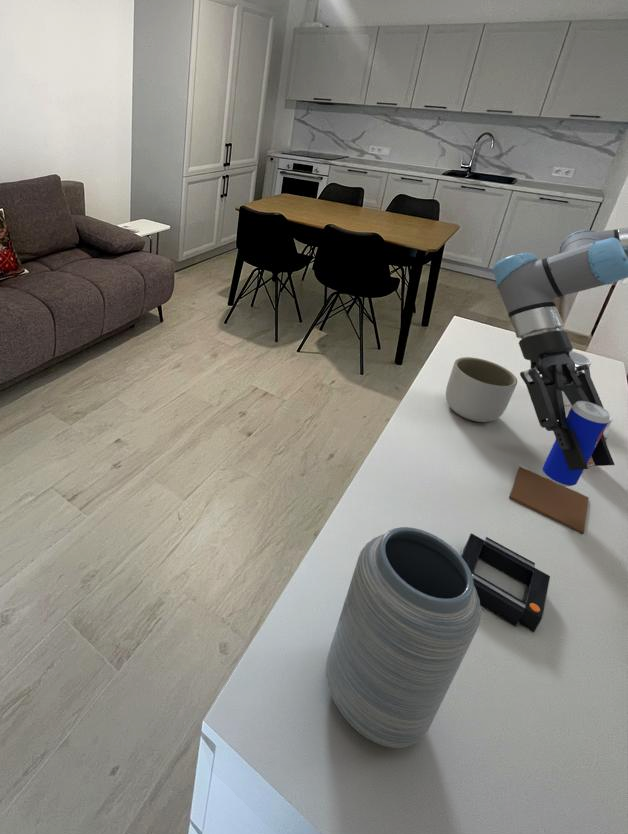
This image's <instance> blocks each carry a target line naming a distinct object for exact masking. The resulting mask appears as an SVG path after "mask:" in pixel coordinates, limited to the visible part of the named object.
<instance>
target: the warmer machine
mask: <svg viewBox="0 0 628 834" xmlns="http://www.w3.org/2000/svg"><path fill="white" fill-rule="evenodd" d="M460 556H461V557H462V558H463V559H464V561H465V562H466V564H467V565H468V567H469V569H470V571H471V574H472V577H473V583H474V586H475V588H476V591H477V594H478V597H479V600H480V607H483V608H484V609H486V610H487V611H489V612H490V613H492V614H494V615H496V616H497V617H499V618H500V619H502V620H503V621H505V622H507V623H509V624H510V625H512V626H514V627H517V626H518V624H520V625H522V626H523V627H524V628H526V629H528V630H530V631H531V632H533V633H535V631H536V630H537V628H538V626H539V624H540V622H541V621H542V619H543V616H544V609H545V605H546V601H547V600H546V599H547V596H548V595H547V594H548V588H549V583H550V579H551V575H549V574H548V573H545V572H543V571H542V570H540V569H538V568H536V562H534V561H532V560H530V559H528V558H526V557H524V556H523V555H521V554H519V553H517V552H515V551H514V550H512V549H510V548H508V547H506V546H504V545H502V544H501V543H499V542H497V541H495V540H493V539H492V538H490V537H487V536H486V537H485V539H483V538H481V537H479V536H477V535H475V534H474V533H472V532H471V533H470V534H469V536H468V539H467V541H466V543H465V545H464V548H463V551H462V552H461V554H460ZM479 560H481V561H482V562H484V563H486V564H487V565H489V566H491V567H493V568H494V569H496V570H498V571H500V572H502V573H503V574H505V575H507V576H508V577H510V578H512V579H514V580H516V581H517V582H520V584H522V585H524V586H525V589H524V593H523V596H522V599H520V598H518V596H515V595H514V594H511V593H510V592H508V591H506V590H505V589H503V588H502V587H500V586H498V585H496V584H495V583H493V582H491V581H490V580H488V579H486V578H485V577H482V576H481V575H479V574H477V573H476V572H474V571H475V569H476V566H477V563H478V561H479Z"/></svg>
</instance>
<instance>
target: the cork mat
mask: <svg viewBox="0 0 628 834" xmlns="http://www.w3.org/2000/svg"><path fill="white" fill-rule="evenodd" d="M589 498H590V497H589V496H587V495H585V494H582V493H580V492H578V491H576V490H573V489H571V488H570V487H568V486H562V485H559V484H557V483H555V482H553V481H551V480H550V479H548V478H547V477H546V476H545V477H544V476H543V475H540V474H537V473H536V472H534V471H531V470H529V469H526V468H524V467H522V466H519V468H518V470H517V474H516V477H515V479H514V482H513V485H512V489H511V491H510V494H509V497H508V499H510V500H512V501H513V502H516V503H518V504H520V505H522V506H523V507H526V508H528V509H530V510H533V511H534V512H537V513H538V514H540V515H542V516H544V517H547V518H549V519H550V520H552V521H555V522H557V523H558V524H561V525H563V526H565V527H567V528H569V529H570V530H571V529H572V530H573V531H575V532H578V533H579V534H581V535H583V534H584V533H585V526H586V519H587V511H588V505H589Z"/></svg>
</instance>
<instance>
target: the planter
mask: <svg viewBox="0 0 628 834" xmlns="http://www.w3.org/2000/svg"><path fill="white" fill-rule="evenodd" d="M517 386H518V378H517V377H516V375H515V374H514V373H513V372H511V371H510V370H508V369H507V368H506V367H504V366H502V365H500V364H497V363H495V362H493V361H489V360H486V359H483V358H478V357H472V356H471V357H470V356H465V357H464V356H463V357H459V358H457V359H455V361H454V363H453V365H452V368H451V372H450V375H449V378H448V380H447V384H446V389H445V399H446V402H447V404H448V406H449V408H450V409H451V410H452V411H453V412H454V413H455V414H457V415H459V416H460V417H462V418H464V419H466V420H469V421H472V422H477V423H491V422H494V421H496V420H498V419H499V418H501V416H502V415H503V414H504V413H505V411H506V409H507V407H508V405H509V404H510V401H511V399H512V396H513V393H514V392H515V389H516V387H517Z"/></svg>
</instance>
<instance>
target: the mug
mask: <svg viewBox="0 0 628 834" xmlns="http://www.w3.org/2000/svg"><path fill="white" fill-rule="evenodd" d="M569 356H570V357H571V359H572V360H573V361H574V363H575V364H577V365H580V366H581V365H585V364H586V365H588V366H589V368H590V367H591V365H592V363H593V361H592V360H591V359H590V358H589V357H588V356H586V355H584V354H583V353H580V352H577V351H574V350H572V351H571V352H570V353H569ZM562 396H563V402H564V406H565V405H566V406H570V405H571V403H570V402H569V400H568V398H567V397H566V395H565V393H564V392H563V391H562Z"/></svg>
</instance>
